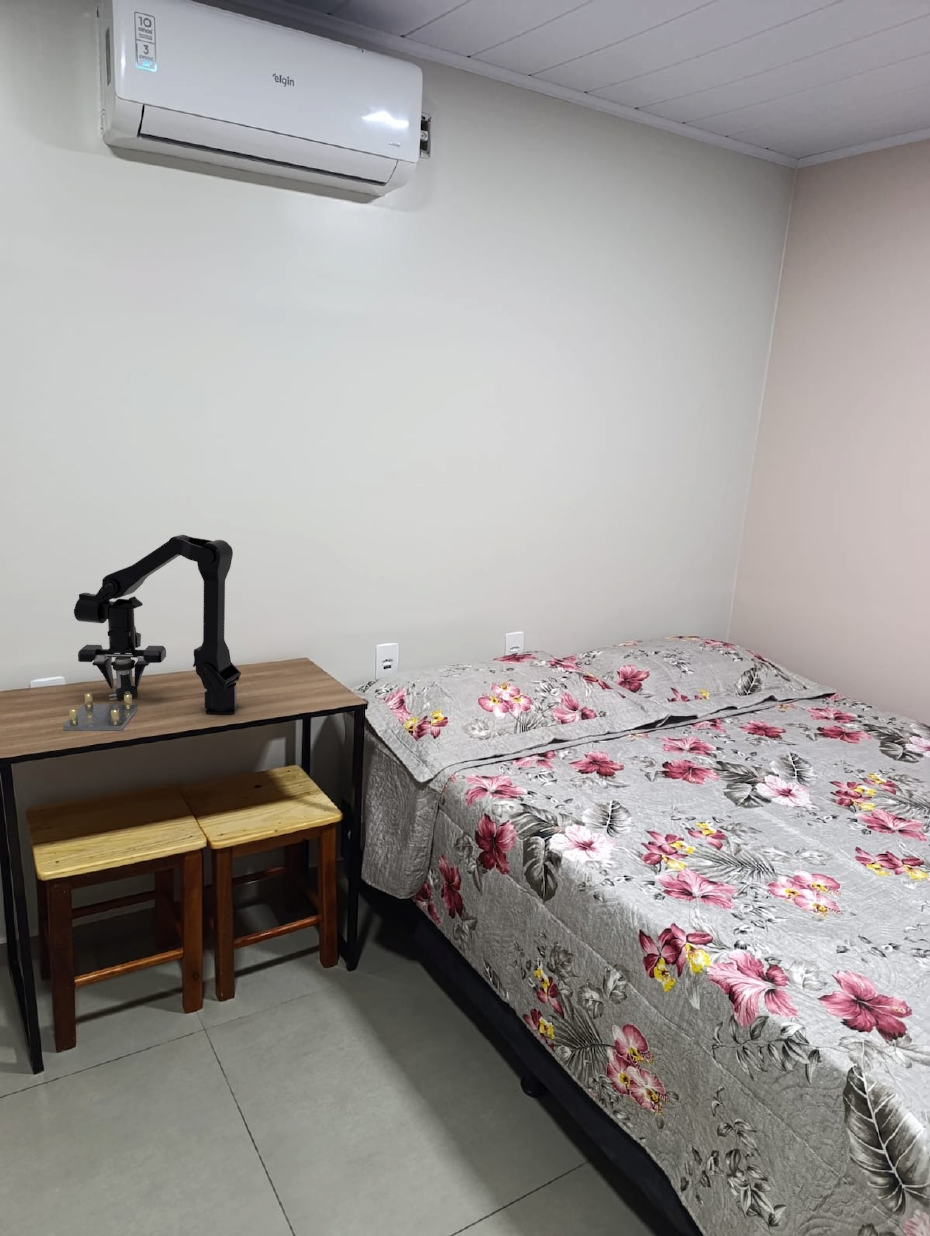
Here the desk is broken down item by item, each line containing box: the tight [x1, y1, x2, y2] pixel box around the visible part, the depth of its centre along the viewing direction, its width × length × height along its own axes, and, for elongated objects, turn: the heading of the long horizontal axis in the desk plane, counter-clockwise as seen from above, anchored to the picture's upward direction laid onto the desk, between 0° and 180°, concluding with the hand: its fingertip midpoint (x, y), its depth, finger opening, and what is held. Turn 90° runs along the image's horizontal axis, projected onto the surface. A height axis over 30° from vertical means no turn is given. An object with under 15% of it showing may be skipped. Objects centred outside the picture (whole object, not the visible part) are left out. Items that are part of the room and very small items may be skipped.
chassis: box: [62, 692, 139, 732], centre depth 190 cm, size 12×14×4 cm
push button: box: [108, 657, 139, 701], centre depth 203 cm, size 7×5×10 cm
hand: (124, 688), depth 204 cm, fingers open, 5 cm apart
